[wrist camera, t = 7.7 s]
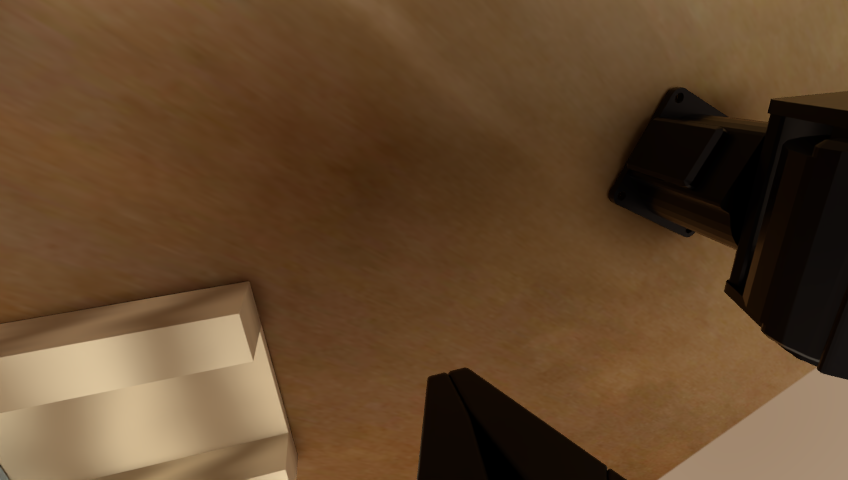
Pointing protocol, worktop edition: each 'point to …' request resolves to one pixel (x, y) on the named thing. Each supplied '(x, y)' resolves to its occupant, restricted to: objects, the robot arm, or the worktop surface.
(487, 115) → the worktop surface
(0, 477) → the grey rectangular block
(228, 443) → the chute
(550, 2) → the worktop surface
